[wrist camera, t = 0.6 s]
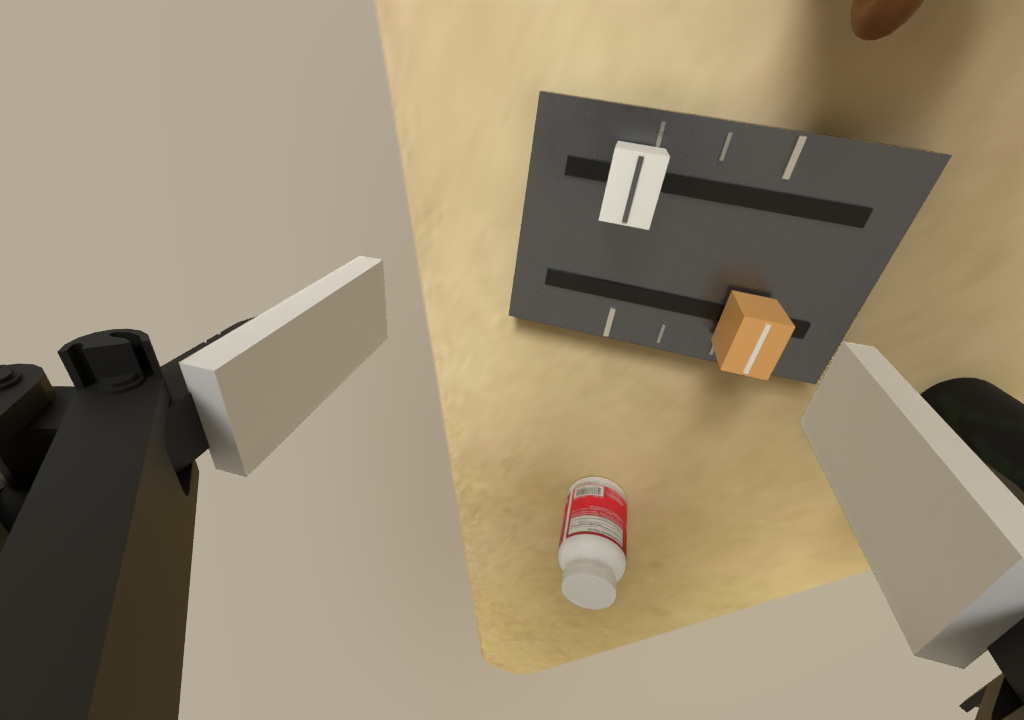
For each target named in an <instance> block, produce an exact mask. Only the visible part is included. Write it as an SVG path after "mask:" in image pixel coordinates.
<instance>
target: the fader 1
mask: <svg viewBox="0 0 1024 720" xmlns="http://www.w3.org/2000/svg"><path fill="white" fill-rule="evenodd" d="M669 159H670V156H669V154H668V152H667V150H666V149H665V148H659V147H653V146H647V145H641V144H635V143H629V142H623V141H617V144H616V147H615V150H614V154H613V159H612V163H611V168H610V172H609V176H608V181H607V185H606V190H605V194H604V198H603V203H602V207H601V211H600V216H599V221H604V222H609V223H615V224H620V225H625V226H630V227H636V228H641V229H646V230H649V228H650V225H651V221H652V218H653V214H654V211H655V207H656V204H657V200H658V197H659V193H660V190H661V187H662V183H663V180H664V176H665V173H666V169H667V166H668V162H669Z"/></svg>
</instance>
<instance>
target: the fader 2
mask: <svg viewBox="0 0 1024 720" xmlns="http://www.w3.org/2000/svg"><path fill="white" fill-rule="evenodd" d="M794 329H795V326H794V324H793V323H792V321H791V320H790V318H789V317H788V315H787V314H786V312H785V311H784V309H783V308H782V306H781V305H780V304H779V302H778V301H777V299H772V298H768V297H763V296H758V295H753V294H748V293H743V292H738V291H733V290H732V291H731V293H730V296H729V298H728V301H727V303H726V305H725V308H724V310H723V313H722V315H721V317H720V320H719V322H718V325H717V327H716V329H715V332H714V334H713V337H712V339H711V341H712V344H713V348H714V351H715V354H716V357H717V361H718V364H719V367H720V370H722V371H727V372H731V373H735V374H740V375H744V376H749V377H753V378H758V379H762V380H766V381H768V379H769V377H770V375H771V373H772V371H773V369H774V367H775V365H776V363H777V361H778V360H779V358H780V356H781V354H782V352H783V350H784V348H785V346H786V344H787V342H788V340H789V338H790V337H791V335H792V333H793V331H794Z"/></svg>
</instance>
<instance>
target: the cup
mask: <svg viewBox="0 0 1024 720" xmlns="http://www.w3.org/2000/svg"><path fill="white" fill-rule="evenodd" d="M921 397H922V398H923V399H924V400H925V401H926V402H927V403H928V404H929V405H930V406H931V407H932V408H933V409H934V410H935V411H936V413H937V414H938V415H939V416H940V417H941V418H942V419H943V420H944V421H945V422H946V423H947V424H948V425H949V426H950V427H951V428H952V430H953V431H954V432H955V433H956V434H957V435H958V436H959V437H960V438H961V439H962V440H963V441H964V442H965V443H966V444H967V446H968V447H969V448H970V449H971V450H972V451H973V452H974V453H975V454H976V455H977V456H978V457H979V458H980V459H981V460H982V462H983V463H986V464H988V465H989V466H990V467H992V468H993V469H995V470H996V471H998V472H999V473H1000V474H1002V475H1003V476H1005V477H1006V478H1007V479H1009V480H1010V481H1012V482H1013V483H1014V484H1016V485H1017V486H1018V487H1019V488H1020V489H1021V490H1022V491H1023V492H1024V404H1023V403H1021V402H1020V401H1018V400H1017V399H1015V398H1013V397H1012V396H1010V395H1009V394H1007V393H1005V392H1004V391H1002V390H1001V389H999V388H998V387H996V386H994V385H993V384H991V383H989V382H987V381H985V380H980V379H976V378H958V379H951V380H948V381H944V382H941V383H939V384H936V385H934V386H932V387H930V388H929V389H927V390H926V391H924V392H923V393H922V394H921Z"/></svg>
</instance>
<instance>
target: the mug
mask: <svg viewBox="0 0 1024 720" xmlns="http://www.w3.org/2000/svg"><path fill="white" fill-rule="evenodd" d="M923 1H924V0H854V2H853V6H852V11H851V27H852V29H853V31H854V33H855V35H856V36H857V37H859V38H861V39H864V40H877V39H879V38H882V37H884V36H887V35H889V34H891V33H892V32H894V31H895V30H896V29H897V28H899V27H900V26H901V25H902V24H904V23H905V22H906V21H907V20H908V19H909V18H910V17H911V16H912V15H913V13H914V12H915V11H916V10H917V9H918V8H919V7H920V5H921V4H922V2H923Z"/></svg>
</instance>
